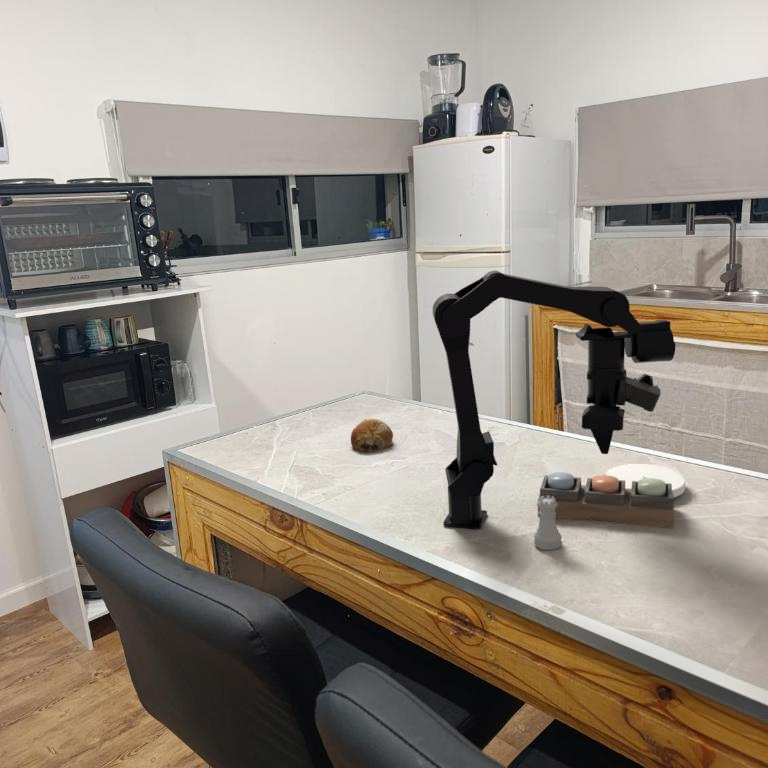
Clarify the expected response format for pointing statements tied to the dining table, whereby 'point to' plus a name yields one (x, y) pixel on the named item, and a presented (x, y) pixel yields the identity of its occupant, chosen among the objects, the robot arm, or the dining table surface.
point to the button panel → (612, 504)
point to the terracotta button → (605, 484)
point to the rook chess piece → (547, 525)
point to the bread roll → (371, 435)
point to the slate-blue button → (561, 481)
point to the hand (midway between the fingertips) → (604, 453)
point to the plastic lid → (648, 475)
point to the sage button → (651, 487)
